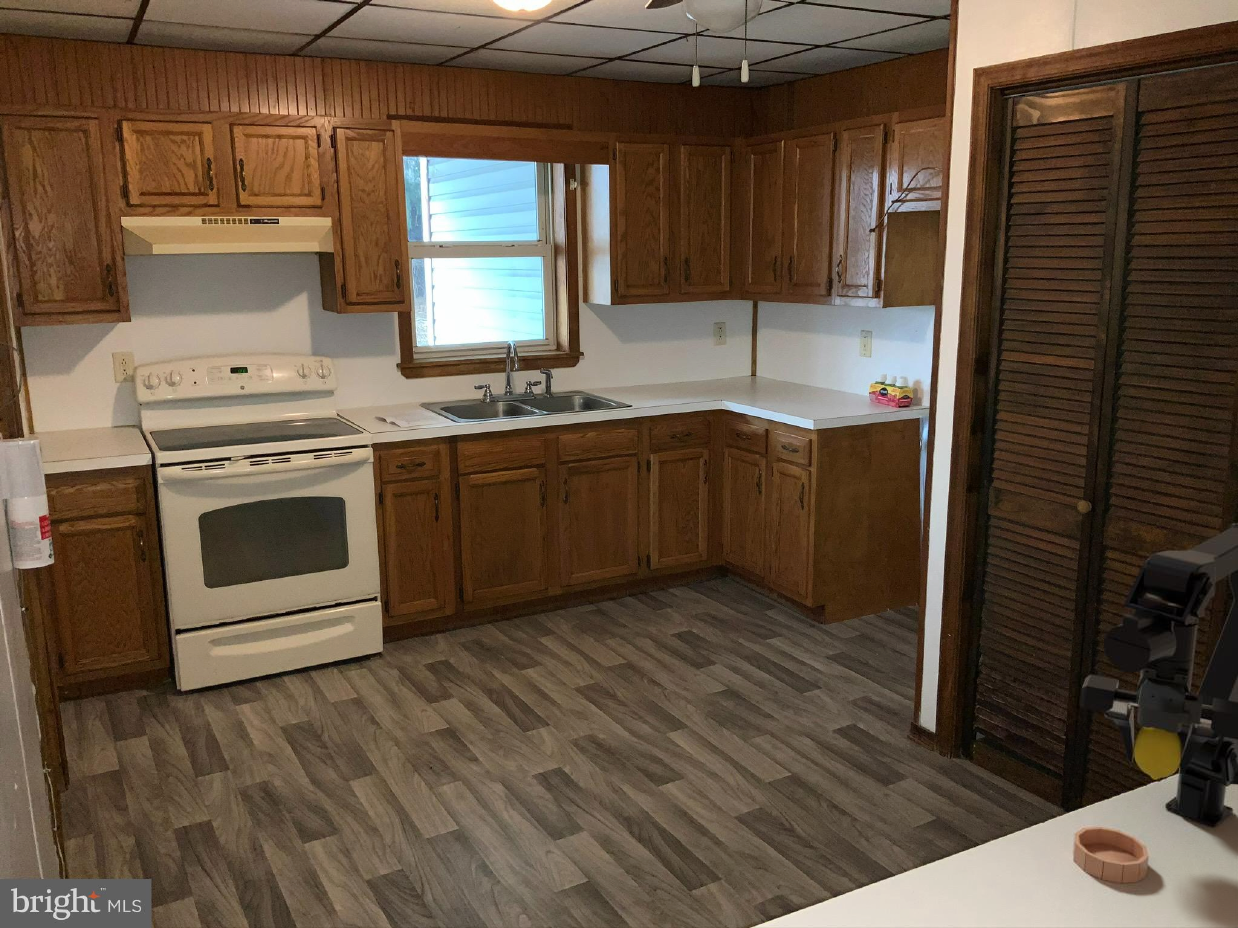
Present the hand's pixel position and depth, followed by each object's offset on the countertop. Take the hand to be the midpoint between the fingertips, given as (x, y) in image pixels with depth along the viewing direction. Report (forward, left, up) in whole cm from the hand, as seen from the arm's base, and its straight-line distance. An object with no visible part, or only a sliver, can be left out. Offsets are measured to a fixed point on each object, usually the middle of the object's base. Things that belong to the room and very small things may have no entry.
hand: (1155, 767), depth 130 cm
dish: (+9, -1, -10) cm, 14 cm away
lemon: (0, 0, -2) cm, 2 cm away
